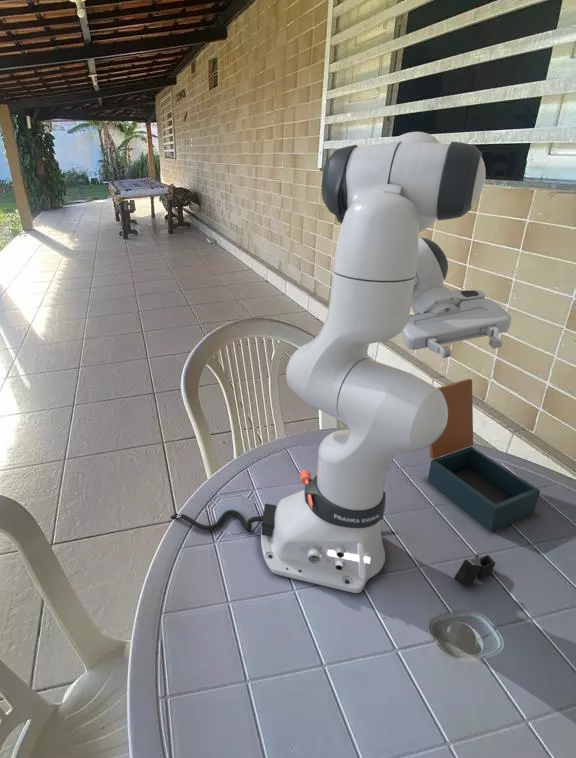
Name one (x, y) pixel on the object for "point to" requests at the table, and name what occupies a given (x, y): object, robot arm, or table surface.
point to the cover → (456, 419)
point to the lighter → (474, 569)
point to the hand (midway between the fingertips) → (472, 350)
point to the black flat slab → (482, 486)
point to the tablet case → (474, 501)
